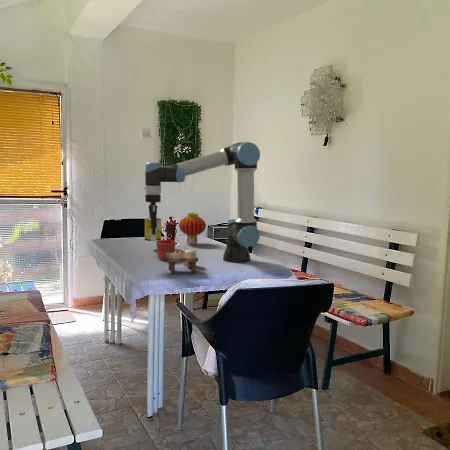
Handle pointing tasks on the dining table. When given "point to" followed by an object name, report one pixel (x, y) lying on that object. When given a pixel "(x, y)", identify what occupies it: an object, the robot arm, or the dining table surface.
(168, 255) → the footstool
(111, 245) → the dining table surface
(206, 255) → the dining table surface
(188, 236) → the lantern
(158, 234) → the supplement box
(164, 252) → the flower pot
